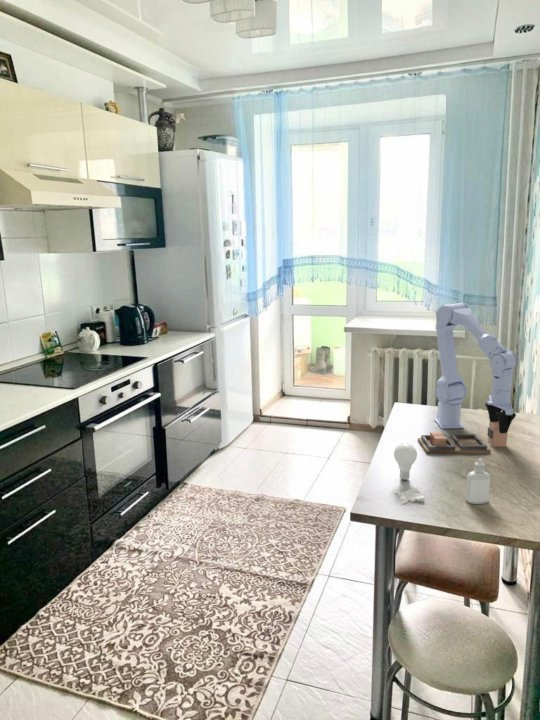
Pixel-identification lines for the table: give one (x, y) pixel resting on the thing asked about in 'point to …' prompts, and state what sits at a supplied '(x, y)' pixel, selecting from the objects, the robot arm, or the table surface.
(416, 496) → the acanthus leaf ornament
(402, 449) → the lightbulb
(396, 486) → the table surface
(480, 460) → the eye dropper bottle
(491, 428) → the pinkish brown block
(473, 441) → the brown flat tray
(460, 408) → the robot arm
